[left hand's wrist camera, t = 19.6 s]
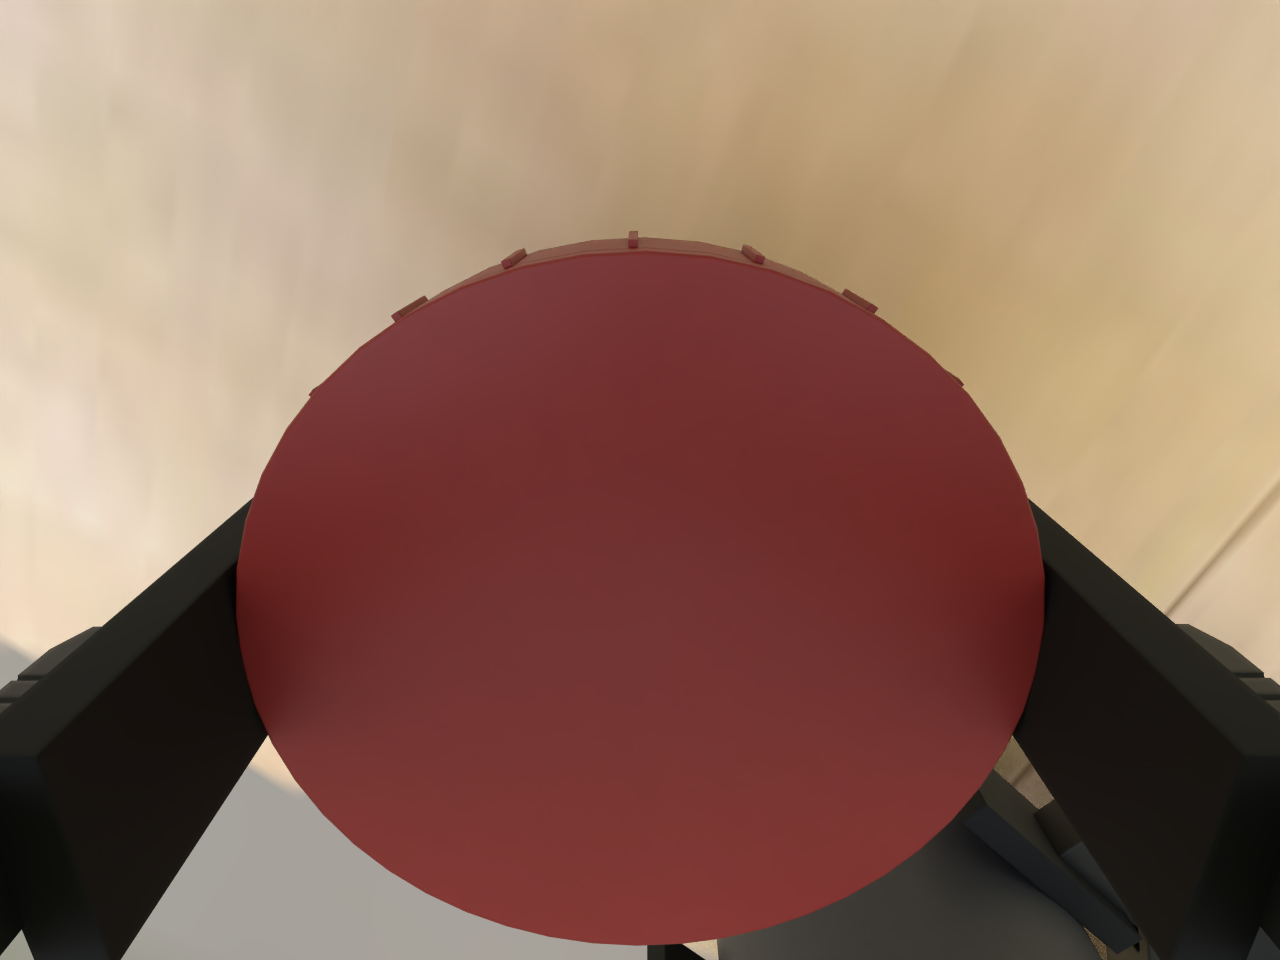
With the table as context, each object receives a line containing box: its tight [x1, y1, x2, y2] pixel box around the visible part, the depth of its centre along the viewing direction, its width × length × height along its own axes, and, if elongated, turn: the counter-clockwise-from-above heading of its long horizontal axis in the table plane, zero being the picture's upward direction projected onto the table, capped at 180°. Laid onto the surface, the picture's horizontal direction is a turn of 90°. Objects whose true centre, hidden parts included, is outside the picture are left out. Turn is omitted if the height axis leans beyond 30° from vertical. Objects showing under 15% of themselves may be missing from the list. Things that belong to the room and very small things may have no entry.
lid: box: [236, 231, 1045, 946], centre depth 11 cm, size 11×11×2 cm
